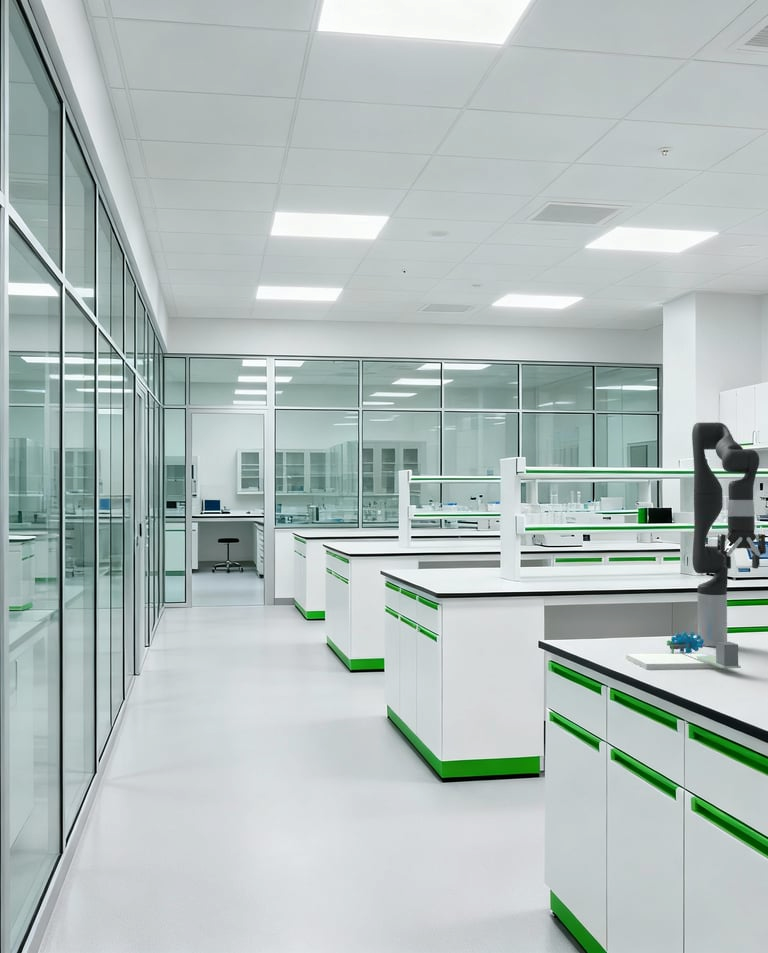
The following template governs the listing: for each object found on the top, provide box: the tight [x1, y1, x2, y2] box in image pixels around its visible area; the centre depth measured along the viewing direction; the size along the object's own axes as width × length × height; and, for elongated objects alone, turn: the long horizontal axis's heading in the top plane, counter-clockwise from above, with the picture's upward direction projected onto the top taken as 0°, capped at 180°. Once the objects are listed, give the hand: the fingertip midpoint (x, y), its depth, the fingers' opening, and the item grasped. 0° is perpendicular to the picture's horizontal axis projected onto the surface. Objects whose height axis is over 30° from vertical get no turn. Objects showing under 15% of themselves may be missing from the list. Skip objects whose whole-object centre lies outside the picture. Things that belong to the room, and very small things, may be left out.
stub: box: [697, 641, 741, 669], centre depth 249 cm, size 16×5×7 cm, turn 5°
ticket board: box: [625, 652, 721, 670], centre depth 257 cm, size 16×24×2 cm, turn 95°
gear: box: [666, 631, 704, 654], centre depth 272 cm, size 11×6×10 cm
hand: (741, 568), depth 262 cm, fingers open, 8 cm apart
